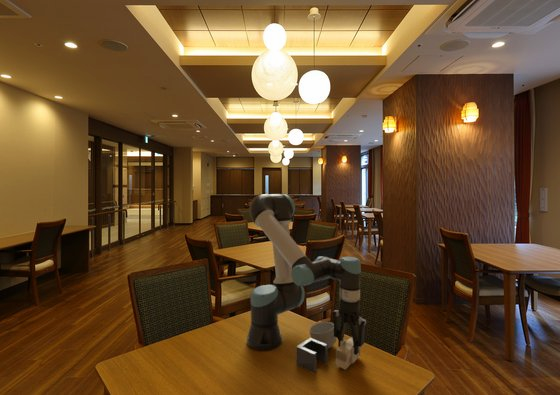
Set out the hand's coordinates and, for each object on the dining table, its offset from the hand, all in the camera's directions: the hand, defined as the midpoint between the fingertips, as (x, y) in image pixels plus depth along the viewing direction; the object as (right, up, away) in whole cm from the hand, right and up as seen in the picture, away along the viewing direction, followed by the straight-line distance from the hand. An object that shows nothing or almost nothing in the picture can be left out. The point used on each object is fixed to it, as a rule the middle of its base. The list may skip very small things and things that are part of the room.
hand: (348, 358), depth 113 cm
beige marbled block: (0, -1, 0) cm, 1 cm away
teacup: (-7, -1, +13) cm, 15 cm away
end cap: (-14, -2, 0) cm, 14 cm away
